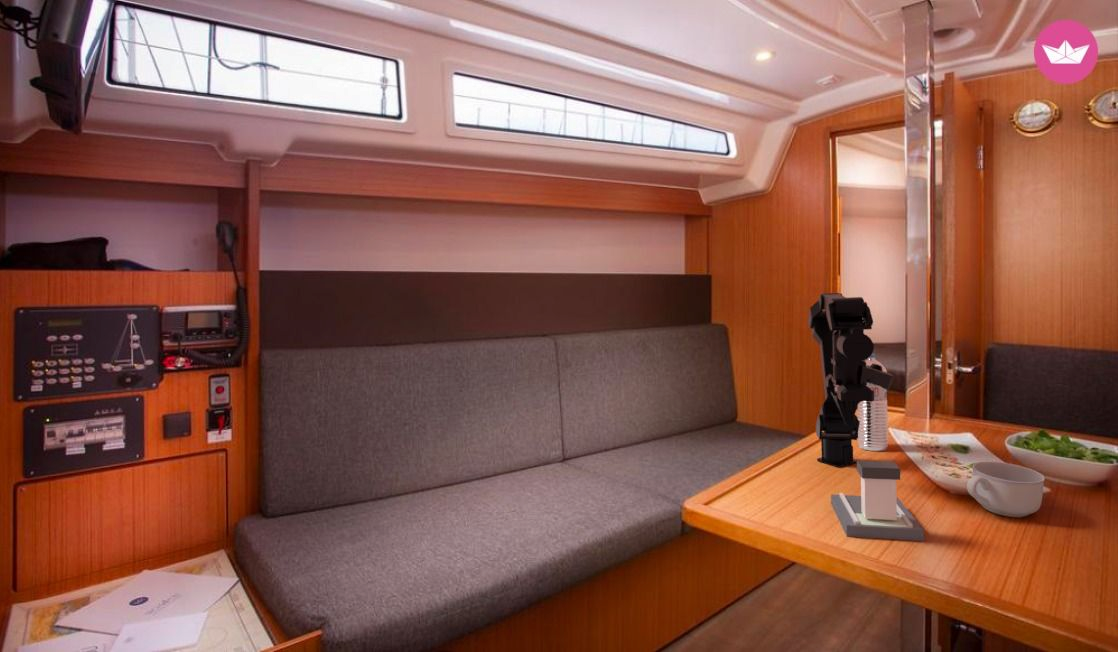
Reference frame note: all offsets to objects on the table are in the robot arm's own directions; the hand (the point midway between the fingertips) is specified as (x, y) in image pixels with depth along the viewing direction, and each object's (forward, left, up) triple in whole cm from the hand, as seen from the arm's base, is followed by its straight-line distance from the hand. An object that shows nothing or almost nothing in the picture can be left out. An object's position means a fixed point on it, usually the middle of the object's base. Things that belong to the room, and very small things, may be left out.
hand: (848, 425), depth 125 cm
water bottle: (-15, +27, -13) cm, 33 cm away
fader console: (+16, -13, -13) cm, 24 cm away
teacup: (+24, +10, -13) cm, 29 cm away
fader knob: (+19, -15, -10) cm, 26 cm away
